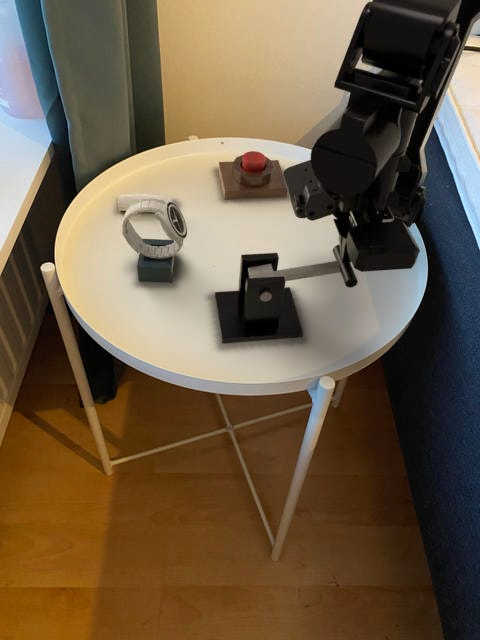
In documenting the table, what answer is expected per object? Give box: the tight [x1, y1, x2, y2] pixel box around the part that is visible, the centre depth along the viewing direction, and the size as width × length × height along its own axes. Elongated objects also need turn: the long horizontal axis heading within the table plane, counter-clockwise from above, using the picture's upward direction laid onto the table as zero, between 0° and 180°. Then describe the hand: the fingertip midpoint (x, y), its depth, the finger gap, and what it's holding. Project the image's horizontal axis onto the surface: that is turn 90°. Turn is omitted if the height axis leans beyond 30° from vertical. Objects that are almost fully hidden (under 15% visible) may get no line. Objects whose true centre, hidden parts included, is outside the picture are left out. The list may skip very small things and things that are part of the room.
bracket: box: [214, 252, 304, 344], centre depth 67 cm, size 10×8×9 cm
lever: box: [248, 244, 358, 289], centre depth 65 cm, size 12×6×2 cm, turn 98°
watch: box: [121, 198, 188, 284], centre depth 71 cm, size 6×8×11 cm
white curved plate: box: [117, 193, 173, 213], centre depth 83 cm, size 4×8×3 cm, turn 90°
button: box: [242, 150, 266, 173], centre depth 86 cm, size 4×4×2 cm
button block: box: [218, 154, 288, 200], centre depth 88 cm, size 10×8×4 cm
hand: (345, 260), depth 65 cm, fingers closed, pressing on lever
